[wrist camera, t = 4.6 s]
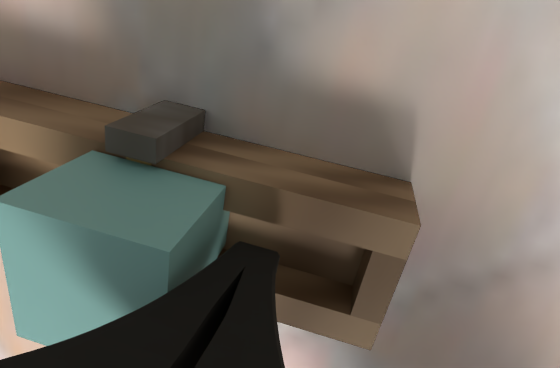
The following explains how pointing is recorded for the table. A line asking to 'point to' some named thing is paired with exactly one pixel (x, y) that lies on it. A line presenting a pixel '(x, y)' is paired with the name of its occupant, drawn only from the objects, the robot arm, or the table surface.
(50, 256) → the block
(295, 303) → the wooden slide track
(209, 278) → the robot arm
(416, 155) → the table surface
